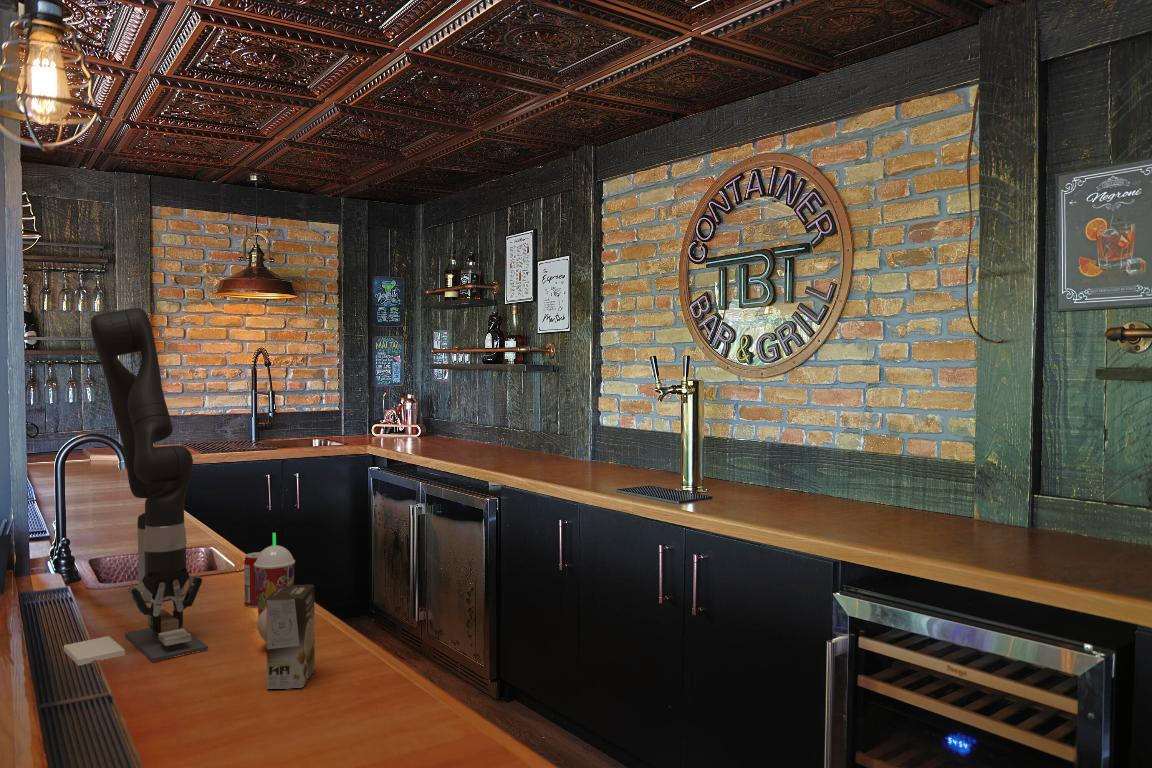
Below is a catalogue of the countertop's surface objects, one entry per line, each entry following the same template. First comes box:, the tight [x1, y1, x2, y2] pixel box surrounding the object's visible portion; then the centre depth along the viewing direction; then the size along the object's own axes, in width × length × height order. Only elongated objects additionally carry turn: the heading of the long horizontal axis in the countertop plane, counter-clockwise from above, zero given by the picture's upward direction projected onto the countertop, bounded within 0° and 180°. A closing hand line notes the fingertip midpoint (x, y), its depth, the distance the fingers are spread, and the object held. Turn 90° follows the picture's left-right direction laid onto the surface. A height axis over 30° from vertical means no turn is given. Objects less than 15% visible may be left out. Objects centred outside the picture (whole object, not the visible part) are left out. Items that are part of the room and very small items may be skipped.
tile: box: [63, 635, 126, 667], centre depth 163 cm, size 8×2×11 cm
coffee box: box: [266, 584, 316, 690], centre depth 149 cm, size 9×6×16 cm
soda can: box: [243, 551, 262, 608], centre depth 195 cm, size 6×6×12 cm
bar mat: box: [124, 626, 209, 664], centre depth 169 cm, size 10×20×1 cm, turn 42°
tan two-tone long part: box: [147, 608, 192, 646], centre depth 167 cm, size 15×5×3 cm, turn 42°
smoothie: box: [254, 532, 296, 619], centre depth 179 cm, size 8×8×20 cm
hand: (167, 631), depth 167 cm, fingers closed on tan two-tone long part, 3 cm apart
